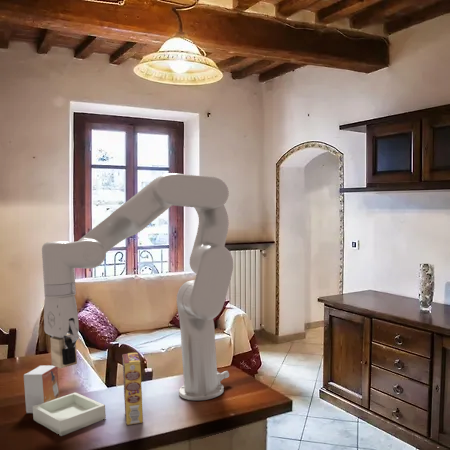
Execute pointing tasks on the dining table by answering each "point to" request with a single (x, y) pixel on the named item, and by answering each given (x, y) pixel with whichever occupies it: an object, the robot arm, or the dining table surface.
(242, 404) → the dining table surface
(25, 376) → the small box
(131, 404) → the candy box
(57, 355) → the birch block
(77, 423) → the tray
